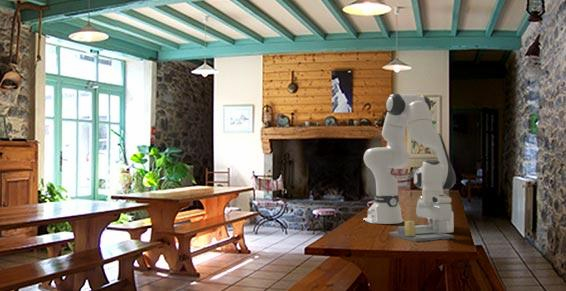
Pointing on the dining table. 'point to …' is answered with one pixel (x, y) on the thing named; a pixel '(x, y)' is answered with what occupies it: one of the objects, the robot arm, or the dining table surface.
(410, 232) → the lock tab
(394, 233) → the slate board
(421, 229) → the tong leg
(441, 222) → the jar
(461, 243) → the dining table surface
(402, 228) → the tongs base
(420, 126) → the robot arm
